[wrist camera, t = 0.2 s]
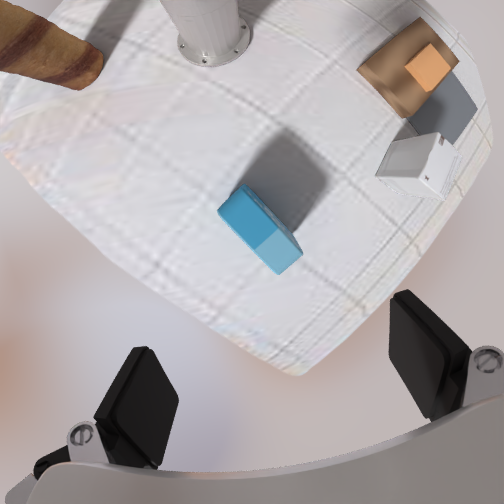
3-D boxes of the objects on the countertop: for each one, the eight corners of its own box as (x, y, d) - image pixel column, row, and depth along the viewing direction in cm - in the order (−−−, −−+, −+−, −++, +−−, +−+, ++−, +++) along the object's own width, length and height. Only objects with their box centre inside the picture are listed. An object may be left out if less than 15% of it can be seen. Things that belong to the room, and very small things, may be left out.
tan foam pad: (426, 92, 34) (432, 89, 32) (404, 66, 33) (409, 63, 31) (445, 70, 32) (451, 68, 30) (425, 46, 31) (430, 43, 29)
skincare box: (396, 193, 44) (445, 206, 29) (372, 175, 43) (417, 181, 29) (414, 157, 41) (465, 157, 27) (391, 137, 41) (440, 130, 26)
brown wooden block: (356, 70, 37) (364, 62, 33) (411, 23, 32) (420, 16, 28) (401, 118, 39) (412, 115, 36) (449, 65, 35) (459, 61, 31)
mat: (406, 117, 39) (407, 117, 39) (448, 69, 35) (449, 68, 34) (438, 161, 41) (439, 162, 41) (476, 109, 37) (477, 109, 37)
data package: (293, 234, 46) (306, 256, 35) (273, 252, 47) (279, 279, 36) (244, 182, 44) (241, 187, 32) (224, 201, 45) (214, 212, 33)
